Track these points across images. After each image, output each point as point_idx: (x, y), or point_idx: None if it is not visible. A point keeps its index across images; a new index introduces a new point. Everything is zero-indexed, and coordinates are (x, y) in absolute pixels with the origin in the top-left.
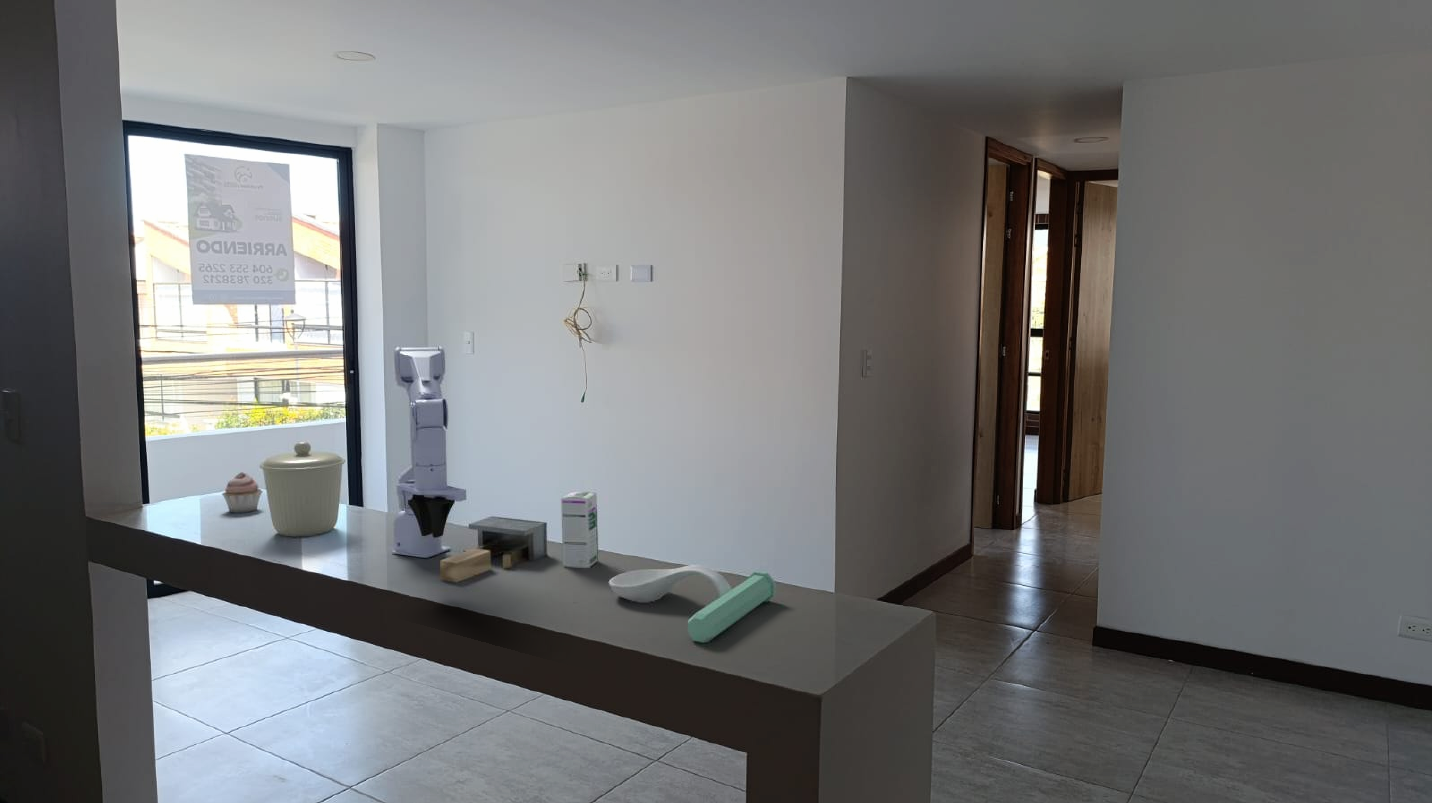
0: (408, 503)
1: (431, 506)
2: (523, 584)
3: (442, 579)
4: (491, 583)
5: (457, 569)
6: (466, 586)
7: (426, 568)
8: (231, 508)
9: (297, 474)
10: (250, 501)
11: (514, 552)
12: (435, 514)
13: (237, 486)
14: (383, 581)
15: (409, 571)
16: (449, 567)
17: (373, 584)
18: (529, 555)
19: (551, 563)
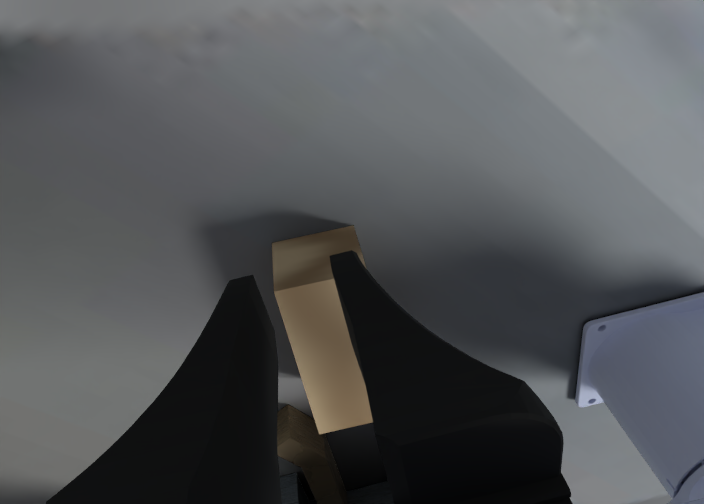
0: (511, 388)
1: (132, 481)
2: (65, 363)
3: (344, 228)
4: (160, 308)
5: (273, 277)
6: (195, 237)
7: (508, 267)
8: None
9: None
10: None
11: (304, 473)
12: (148, 418)
13: None
14: (541, 68)
15: (539, 213)
16: (313, 268)
17: (551, 9)
18: (294, 487)
19: None
